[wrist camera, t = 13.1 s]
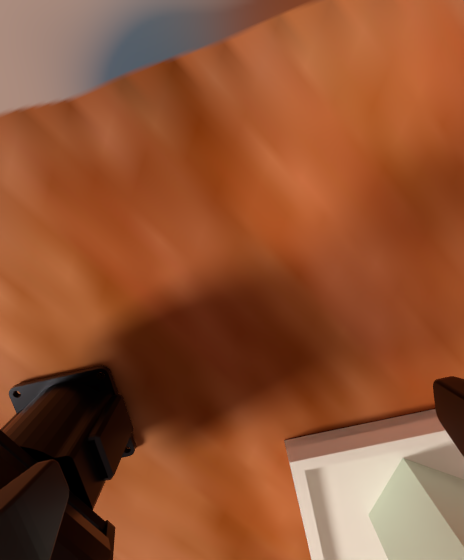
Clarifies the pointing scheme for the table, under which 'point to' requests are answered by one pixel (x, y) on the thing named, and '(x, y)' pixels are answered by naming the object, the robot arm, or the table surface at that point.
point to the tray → (360, 478)
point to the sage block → (420, 514)
